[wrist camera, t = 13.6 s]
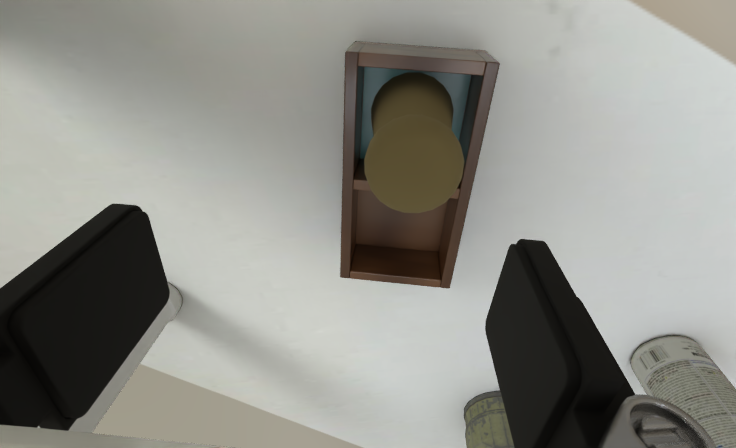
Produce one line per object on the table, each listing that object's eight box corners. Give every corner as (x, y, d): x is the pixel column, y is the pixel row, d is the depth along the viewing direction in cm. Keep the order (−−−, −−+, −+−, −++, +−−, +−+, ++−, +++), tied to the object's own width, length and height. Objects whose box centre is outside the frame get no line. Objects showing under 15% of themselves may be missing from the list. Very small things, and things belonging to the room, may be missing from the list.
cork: (377, 65, 26) (361, 107, 17) (463, 79, 26) (494, 129, 17) (365, 147, 30) (346, 220, 20) (442, 160, 30) (458, 239, 20)
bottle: (177, 278, 40) (-78, 599, 19) (189, 313, 43) (-23, 629, 22) (130, 275, 41) (-170, 586, 20) (145, 310, 43) (-105, 617, 22)
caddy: (348, 243, 36) (340, 277, 32) (354, 40, 27) (345, 51, 23) (444, 253, 36) (449, 288, 31) (485, 50, 26) (500, 62, 22)
